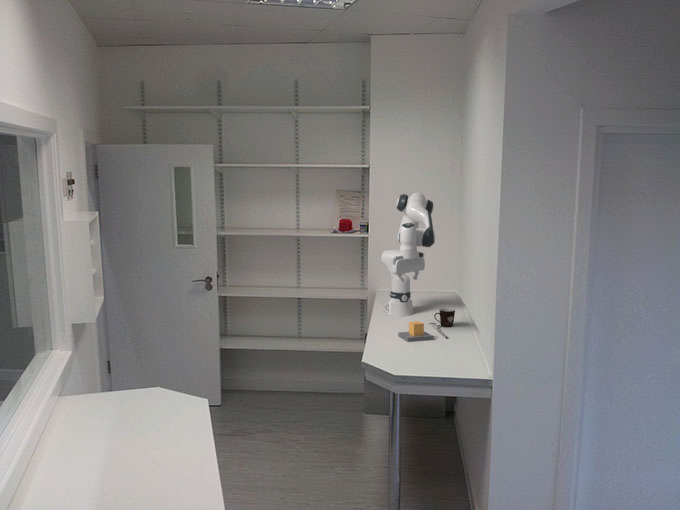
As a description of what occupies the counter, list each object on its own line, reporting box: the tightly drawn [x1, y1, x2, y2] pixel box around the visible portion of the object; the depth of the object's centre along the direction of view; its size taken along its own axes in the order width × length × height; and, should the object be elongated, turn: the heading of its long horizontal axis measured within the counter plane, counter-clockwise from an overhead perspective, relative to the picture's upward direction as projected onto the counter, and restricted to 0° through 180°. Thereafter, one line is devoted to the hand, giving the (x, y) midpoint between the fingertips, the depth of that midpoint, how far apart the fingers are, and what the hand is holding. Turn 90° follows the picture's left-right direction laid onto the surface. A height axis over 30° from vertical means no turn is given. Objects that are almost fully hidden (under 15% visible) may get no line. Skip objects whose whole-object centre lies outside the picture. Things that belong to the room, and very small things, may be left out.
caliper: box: [428, 322, 449, 339], centre depth 315 cm, size 29×2×5 cm
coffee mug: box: [433, 307, 456, 328], centre depth 325 cm, size 12×9×10 cm
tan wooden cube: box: [408, 320, 425, 336], centre depth 301 cm, size 6×6×6 cm
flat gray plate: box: [397, 331, 434, 343], centre depth 301 cm, size 12×14×6 cm
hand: (408, 280), depth 310 cm, fingers open, 8 cm apart
